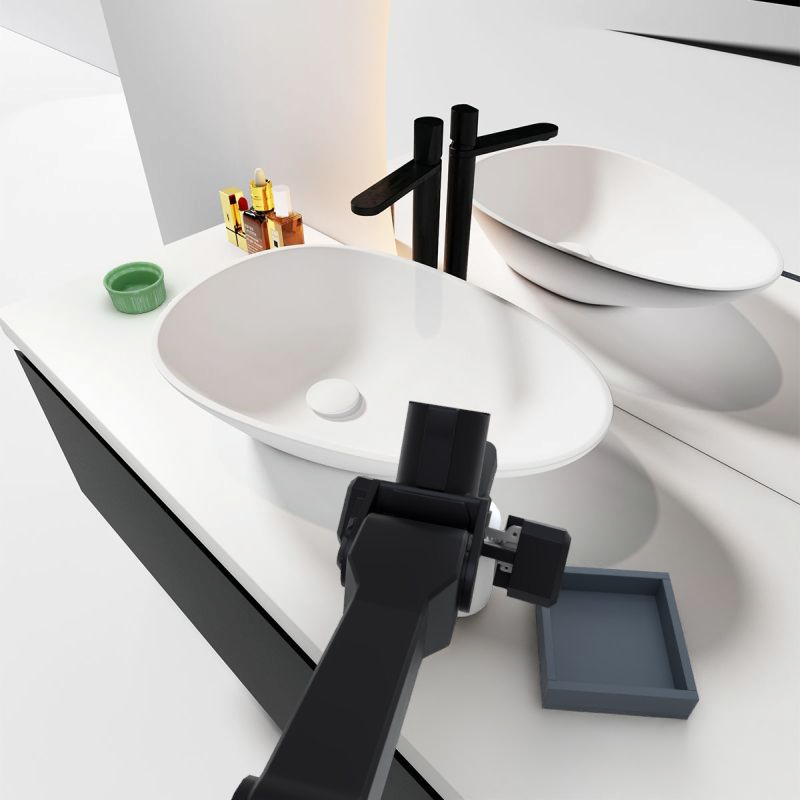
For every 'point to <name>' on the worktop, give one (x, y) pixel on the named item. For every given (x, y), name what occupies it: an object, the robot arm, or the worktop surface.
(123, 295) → the ramekin
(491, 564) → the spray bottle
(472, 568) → the robot arm
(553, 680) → the bin
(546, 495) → the worktop surface
